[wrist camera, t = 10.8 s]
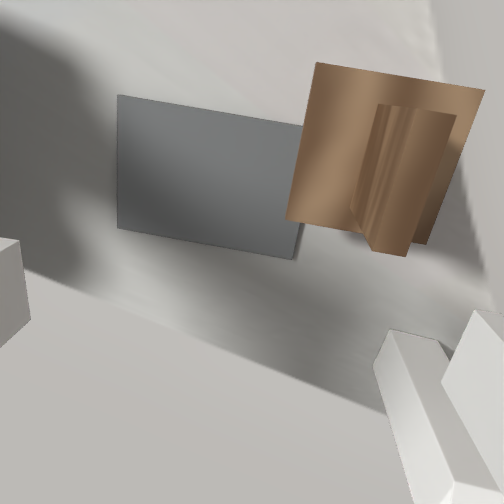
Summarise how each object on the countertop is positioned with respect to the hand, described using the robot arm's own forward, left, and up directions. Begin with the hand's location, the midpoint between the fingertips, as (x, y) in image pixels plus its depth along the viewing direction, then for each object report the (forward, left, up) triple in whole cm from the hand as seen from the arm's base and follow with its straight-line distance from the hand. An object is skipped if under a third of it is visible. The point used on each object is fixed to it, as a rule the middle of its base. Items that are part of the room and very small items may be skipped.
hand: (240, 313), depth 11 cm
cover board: (+8, +2, -22) cm, 23 cm away
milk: (+20, -21, -29) cm, 40 cm away
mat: (-6, -4, -29) cm, 29 cm away
